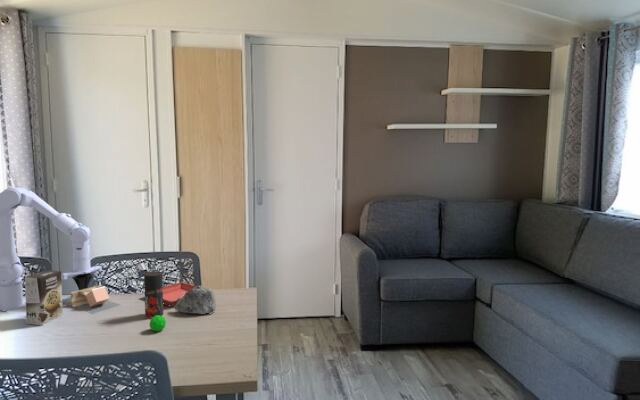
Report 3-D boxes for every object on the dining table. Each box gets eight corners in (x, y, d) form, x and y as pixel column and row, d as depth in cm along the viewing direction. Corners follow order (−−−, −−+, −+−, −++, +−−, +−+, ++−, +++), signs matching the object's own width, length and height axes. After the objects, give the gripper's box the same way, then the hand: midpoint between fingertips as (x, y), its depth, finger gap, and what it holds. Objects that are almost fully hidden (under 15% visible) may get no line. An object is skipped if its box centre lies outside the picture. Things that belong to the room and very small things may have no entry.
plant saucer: (181, 289, 186) (181, 281, 185) (210, 297, 175) (210, 289, 175) (143, 300, 171) (142, 292, 171) (171, 310, 160) (171, 301, 160)
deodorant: (166, 313, 156) (165, 272, 155) (155, 319, 151) (154, 276, 149) (153, 311, 158) (152, 270, 157) (141, 316, 153) (140, 274, 151)
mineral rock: (172, 313, 157) (172, 285, 156) (194, 304, 166) (194, 278, 165) (198, 320, 151) (198, 291, 150) (220, 310, 160) (220, 284, 159)
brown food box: (42, 326, 143) (40, 278, 142) (26, 324, 145) (23, 276, 143) (64, 316, 152) (62, 270, 151) (48, 314, 154) (45, 269, 152)
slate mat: (54, 301, 167) (54, 300, 167) (82, 293, 176) (82, 292, 176) (92, 314, 154) (92, 313, 154) (121, 305, 163) (121, 304, 163)
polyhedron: (150, 334, 138) (150, 319, 138) (148, 328, 142) (148, 314, 142) (167, 331, 140) (166, 317, 140) (165, 326, 145) (164, 312, 144)
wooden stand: (69, 305, 161) (68, 291, 161) (97, 297, 171) (96, 284, 170) (78, 308, 158) (77, 294, 158) (106, 300, 168) (106, 287, 167)
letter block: (91, 289, 158) (96, 302, 157) (104, 286, 163) (109, 298, 162) (85, 295, 161) (90, 307, 160) (98, 291, 165) (103, 303, 164)
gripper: (68, 263, 156) (69, 300, 158) (106, 256, 169) (107, 290, 170) (57, 261, 160) (59, 297, 161) (95, 253, 172) (96, 287, 174)
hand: (83, 293), depth 166 cm, fingers closed, pressing on wooden stand
